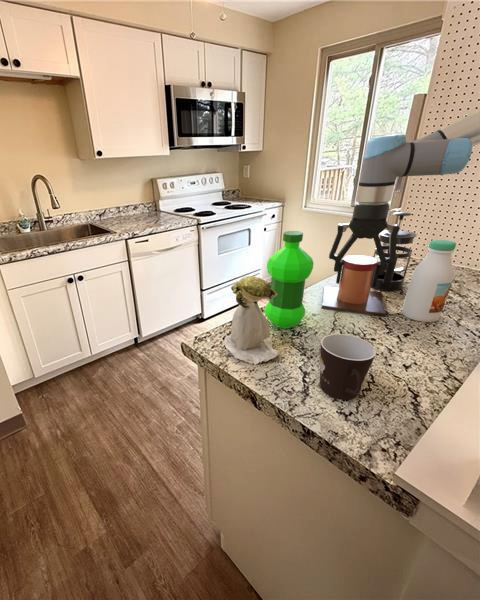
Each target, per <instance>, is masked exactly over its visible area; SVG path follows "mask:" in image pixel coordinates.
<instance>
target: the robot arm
mask: <svg viewBox="0 0 480 600" xmlns="http://www.w3.org/2000/svg"><path fill="white" fill-rule="evenodd" d="M406 139H407V135H406V134H404V133H401V134H400V133H399V134H389V135H388V134H387V135H379V136H373V137H370V139H369V140H368V141H367V143H366V146H365V150H364V155H363V157H362V162H361V163H362V165H361V169H360V174H359V180H358V186H357V191H356V195H355V196H356V197H355V202H356V203H354V207H353V212H352V217H351V220H350V221H349V223H341V222H340V223H338V224H337V232H336V235H335V238H334V241H333V244H332V245H331V248H330V250H329V254H328V259H329V260H333V261H334V267H333V272H335V273H337V274H336V280H335V283H336V284H338V285H339V284H340V279H341V273H342V268H343V258H344V257H345V256H346V254H347V252H348V251H349V250H350V249H351V247H352V246H353V245H354V243H355V242H356V241H357V240H358V239H359V240H360V239H368V240H373V241H374V245H375V248H377V251H378V255H377V256H378V258H379V260H380V261H378V264H377V267H376V268H375V271H374V275H373V280H372V287H376V283H377V279H378V275H383V274H384V270H385V266H386V265H387V264H388V263H394V262H396V254H397V250H396V246H397V244H396V239H397V234H398V231H399V230H401V226H400V227H399V223H395V224H391V223H388V220H387V219H388V216H389V212H390V206H391V204H390V203H389V202H391V201H392V199H393V194H394V188H395V185H396V180H397V178H399V177H400V178H401V177H402V178H404V177H420V176H421V177H422V176H423V177H424V176H425V177H426V176H444V175H455V174H459V173H461V172H462V171H463V170H464V169H465V168H466V167H467V165H468V164H469V161H470V159H471V156H472V153H473V147H476V146H478V145H480V109H479V110H477V111H475V112H473V113H470V114H468V115H466V116H464V117H462V118H461V119H458V120H456V121H454V122H452V123H449V124H448V125H446V126H443V127H442V128H438V130H436V131H433V132H431V133H429V134H427V135H425V136H423V137H420V138H416V139H413V140H410V141H408V142H407V140H406ZM347 229H350V231H351V233H352V234H350V237H349V238H348V239H347V241H346V242H345V244H344V245H343V246H342V248H340V251H338V253H337V250H338V248H339V245H340V242H341V240H342V237H343V235H344V233H345V232H347ZM386 230H388V232H389V233H390V237H389V244H388V245H389V257H387V258H386V257H385V255H384V250H383V248H382V246H383V245H382V242H381V241H380V239H379V238H380V235H379V234H380V233H381V232H382V231H386ZM336 253H337V254H336ZM396 263H397V262H396Z"/></svg>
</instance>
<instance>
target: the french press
mask: <svg viewBox="0 0 480 600" xmlns="http://www.w3.org/2000/svg"><path fill="white" fill-rule="evenodd" d="M392 215H394V216H397V217H398V216H399V217H398V220H399V223H398V225H399V227H400V228H401V225H402V221H403V220H404V217H408V216H409V217H410V216H412V213H411V212H405V211H398V212H393V213H392ZM389 237H390V233H389V232H388V229H386V230H383V231H382V232H381V233H380V234H379V239H380V242H381V243H384V244H386V245H382V248H383V252H384V250H385V251H386V250H387V252H384V255H385V258H387V257H389ZM416 237H418V235H417V233H416V232H413V231H409V230H401V229H399V231H398V234H397V239H396V251H399V252H404V253H396V262H394V263H388V264H387V265H386V266H385V270H384V274H383V275H378V279H377V283H376V287H372V284H371V288H370V289H374V290H377V291H380V292H382V291H383V292H399V291H401V290H403V288H404V282H405V278H406V275H407V271H408V268H409V264H410V260H411V257H412V253H413V250H412V249H411V248H409V247H406V246H402V245H409V244H413V242H414V239H415V238H416ZM387 244H388V245H387ZM400 245H401V246H400ZM376 255H377V256H379V255H378V251H377V248H376V247H375V248H374V253H373V258H376ZM406 258H407V262H406V265H402V264H399V263H397V262H398V259H406ZM400 273H403V274H400Z"/></svg>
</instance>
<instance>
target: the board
mask: <svg viewBox="0 0 480 600" xmlns="http://www.w3.org/2000/svg"><path fill="white" fill-rule="evenodd" d="M338 289H339V286H337V287H336V286H328V285H324V287H323V295H322V300H321V302H322V303H321V307H320V308H321V309H323V310H330V311H337V312H346V313H352V314H361V315H368V316H374V317H375V316H376V317H381V318H386V315H387V312H386V307H385V303H384V298H383V295H382V291H378V290H377V291H376V290H370V292H369V296H368V301H367V302H366V303H363V304H351V303H346V302H343V301H341V300H339V299H338V298H337V294H338Z"/></svg>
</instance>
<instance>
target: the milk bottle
mask: <svg viewBox="0 0 480 600" xmlns="http://www.w3.org/2000/svg"><path fill="white" fill-rule="evenodd" d="M456 247H457V242H455V241H453V240H449V239H433V240H430V241H429V243H428V248H427V250H428V251H427V254H426V255H425V257H424V258H423V259H422V260H421V261H420V262H419V263H418V264H417V266H416V267H415V268H414V270H413V272H412V274H411V277H410V280H409V283H408V287H407V291H406V294H405V297H404V301H403V304H402V308H401V314H402V315H403V316H404V317H406V318H408V319H411V320H413V321H416V322H424V323H433V322H437V321H438V320H440V317H441V315H442V313H443V309H444V307H445V304H446V301H447V298H448V296H449V293H450V290H451V287H452V284H453V280H454V276H455V275H454V274H455V272H454V266H453V263H452V254H453V253H454V252H455V249H456Z"/></svg>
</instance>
